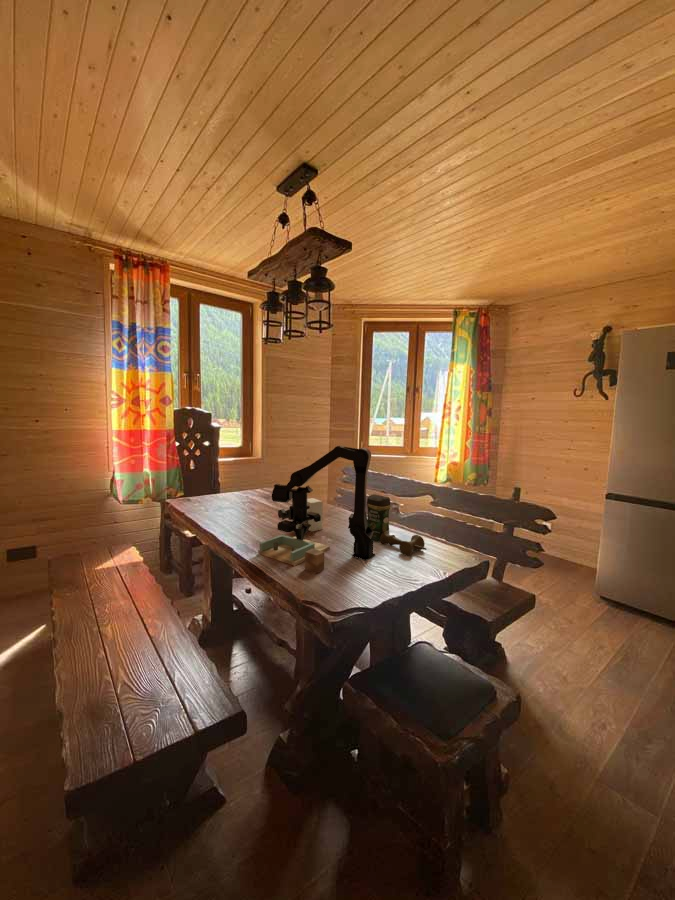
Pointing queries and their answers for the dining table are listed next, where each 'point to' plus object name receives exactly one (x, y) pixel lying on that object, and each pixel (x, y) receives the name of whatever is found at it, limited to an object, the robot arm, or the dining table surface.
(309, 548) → the housing
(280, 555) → the board
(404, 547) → the kendama
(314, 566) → the block
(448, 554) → the dining table surface
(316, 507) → the small box
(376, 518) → the coffee jar
